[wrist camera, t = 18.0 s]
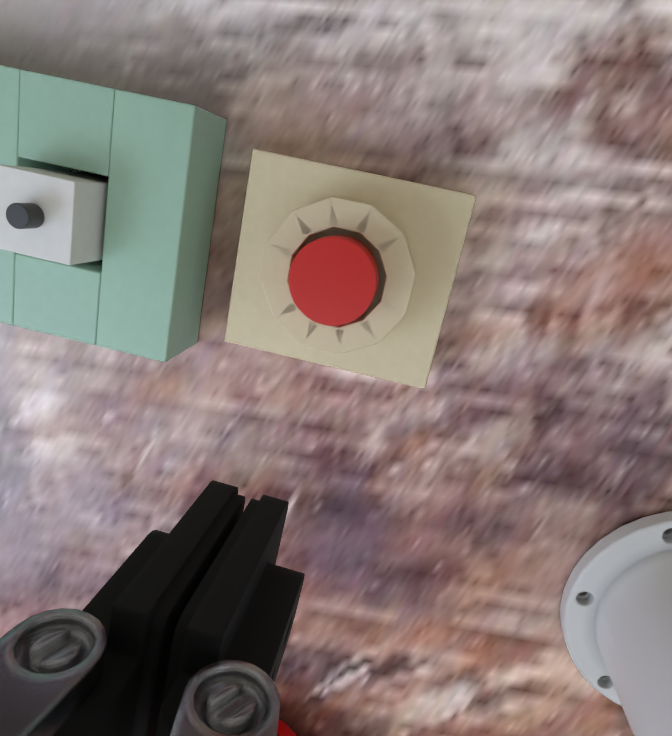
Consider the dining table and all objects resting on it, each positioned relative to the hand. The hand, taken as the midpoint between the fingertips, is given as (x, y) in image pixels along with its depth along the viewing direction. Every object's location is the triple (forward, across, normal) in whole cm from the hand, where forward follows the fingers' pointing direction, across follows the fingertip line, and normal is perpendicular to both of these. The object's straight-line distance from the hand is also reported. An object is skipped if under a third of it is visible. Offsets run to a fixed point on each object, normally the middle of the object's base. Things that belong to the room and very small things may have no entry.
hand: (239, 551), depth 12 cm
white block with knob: (+18, +14, -4) cm, 23 cm away
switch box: (+18, +1, -4) cm, 18 cm away
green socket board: (+18, +18, -4) cm, 25 cm away
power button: (+14, +1, -4) cm, 15 cm away
